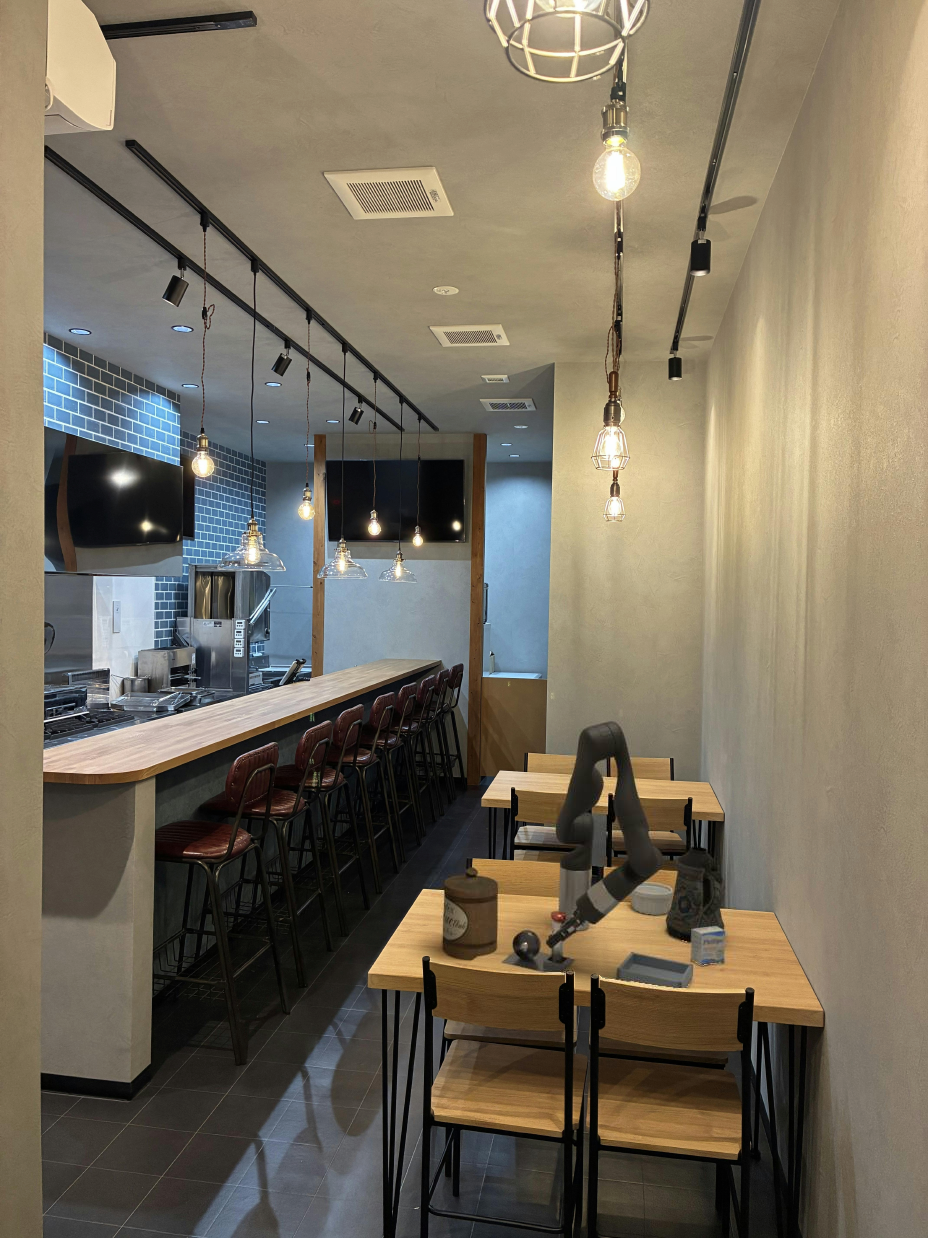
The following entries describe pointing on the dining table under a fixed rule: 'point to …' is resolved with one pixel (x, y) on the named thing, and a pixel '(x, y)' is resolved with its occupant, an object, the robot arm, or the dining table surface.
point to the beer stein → (695, 894)
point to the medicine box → (707, 945)
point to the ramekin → (652, 898)
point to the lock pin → (556, 925)
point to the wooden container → (470, 915)
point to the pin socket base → (533, 954)
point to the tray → (655, 971)
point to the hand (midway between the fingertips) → (549, 942)
